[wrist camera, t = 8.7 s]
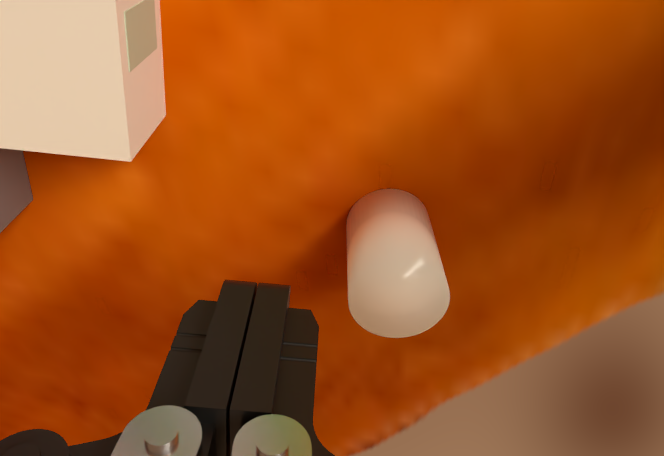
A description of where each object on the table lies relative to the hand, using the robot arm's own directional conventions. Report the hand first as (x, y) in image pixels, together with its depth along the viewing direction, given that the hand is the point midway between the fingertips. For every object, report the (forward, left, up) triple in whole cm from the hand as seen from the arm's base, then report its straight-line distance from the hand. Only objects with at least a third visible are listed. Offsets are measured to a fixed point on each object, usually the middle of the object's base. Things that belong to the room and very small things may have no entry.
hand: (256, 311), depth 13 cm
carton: (+11, -2, -18) cm, 21 cm away
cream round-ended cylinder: (-6, +8, -18) cm, 21 cm away
